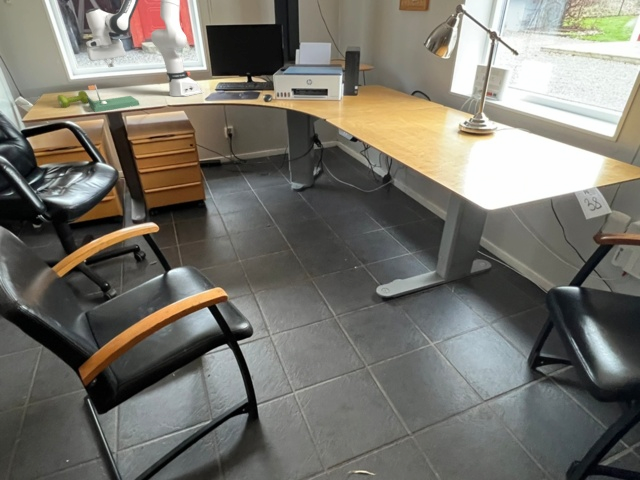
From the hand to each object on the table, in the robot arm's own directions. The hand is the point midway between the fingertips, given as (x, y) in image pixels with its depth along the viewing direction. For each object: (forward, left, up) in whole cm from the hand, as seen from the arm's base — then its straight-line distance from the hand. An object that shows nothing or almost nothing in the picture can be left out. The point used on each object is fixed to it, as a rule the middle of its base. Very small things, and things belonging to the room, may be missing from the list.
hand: (111, 66), depth 230 cm
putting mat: (+5, +2, -22) cm, 22 cm away
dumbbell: (+24, -17, -22) cm, 36 cm away
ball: (+10, +2, -20) cm, 22 cm away
